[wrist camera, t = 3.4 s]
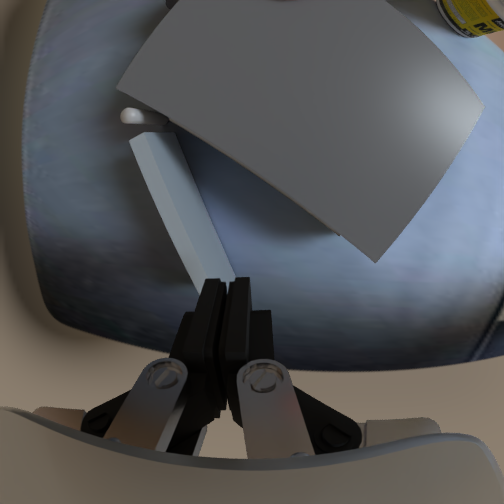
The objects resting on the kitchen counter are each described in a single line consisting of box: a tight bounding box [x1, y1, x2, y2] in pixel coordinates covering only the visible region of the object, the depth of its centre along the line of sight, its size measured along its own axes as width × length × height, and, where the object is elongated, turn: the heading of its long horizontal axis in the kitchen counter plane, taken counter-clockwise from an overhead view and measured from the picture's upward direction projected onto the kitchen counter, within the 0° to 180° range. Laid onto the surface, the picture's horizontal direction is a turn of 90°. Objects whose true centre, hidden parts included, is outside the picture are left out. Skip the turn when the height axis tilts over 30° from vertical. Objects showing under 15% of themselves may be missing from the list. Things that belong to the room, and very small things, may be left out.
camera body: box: [116, 0, 485, 263], centre depth 12 cm, size 18×13×6 cm
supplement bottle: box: [436, 0, 504, 38], centre depth 6 cm, size 5×5×8 cm
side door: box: [129, 132, 236, 295], centre depth 15 cm, size 11×2×5 cm, turn 20°
